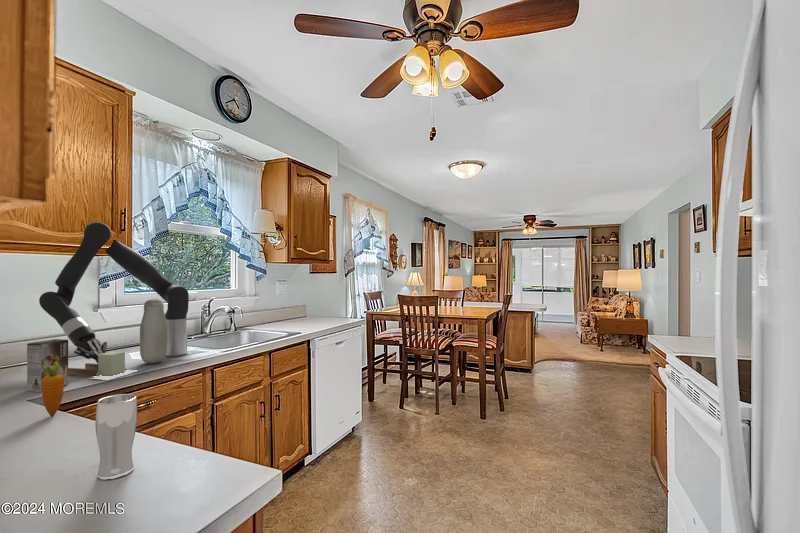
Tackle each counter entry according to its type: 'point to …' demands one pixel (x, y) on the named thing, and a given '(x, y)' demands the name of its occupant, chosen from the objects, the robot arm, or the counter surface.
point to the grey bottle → (153, 332)
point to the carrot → (52, 389)
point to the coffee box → (45, 361)
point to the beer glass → (116, 433)
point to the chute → (84, 370)
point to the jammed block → (111, 363)
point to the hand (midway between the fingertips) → (104, 363)
